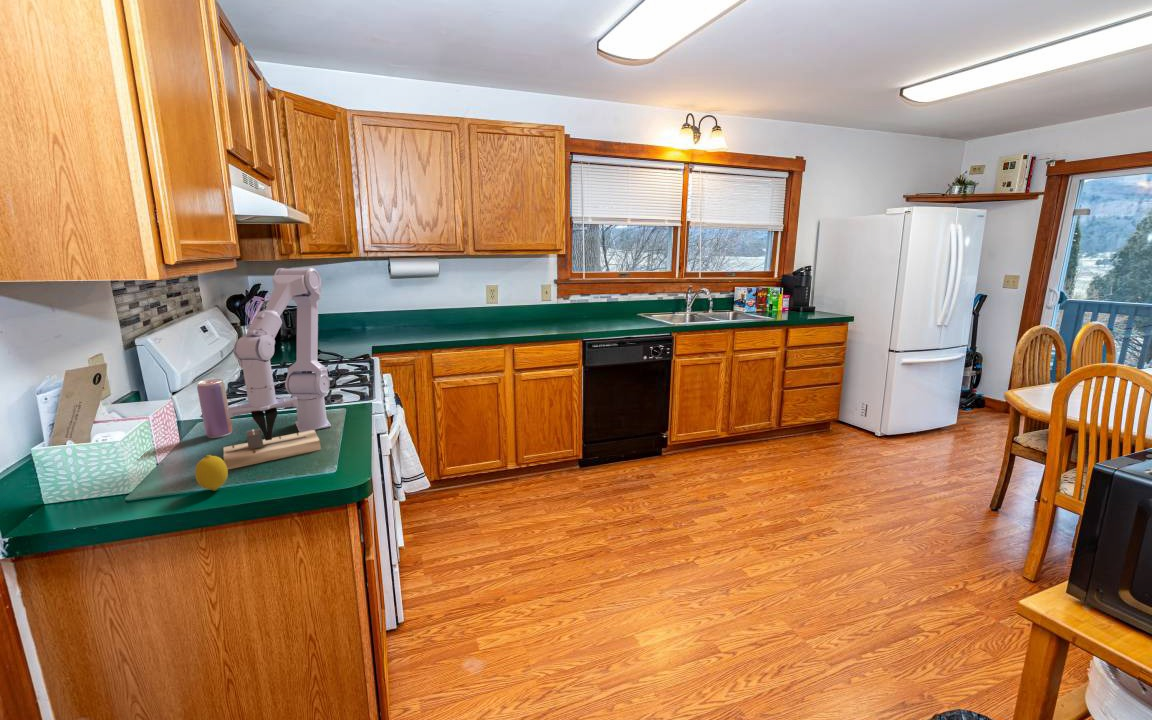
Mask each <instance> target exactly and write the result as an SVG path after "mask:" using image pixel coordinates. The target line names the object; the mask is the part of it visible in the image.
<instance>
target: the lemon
mask: <svg viewBox="0 0 1152 720" xmlns="http://www.w3.org/2000/svg"><path fill="white" fill-rule="evenodd" d="M194 473H195V475H194V476H195V480H196V482H197V484H198V485H199V486H200V487H201V488H203V489H205V490H206V489H207V490H211V491H213V492H214V491H217V490H218V489H219V488H220V487H222V486H223V485H224V484H225V483H226V481H227V479H228V477H229V469H227V466H226V464H225V462H224V459H223V458H221V457H220V456H217V455H211V454H207V455H206V456H205V457H203V458H202V459H200V460H199V461H198V462H197V464H196V466H195V472H194Z"/></svg>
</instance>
